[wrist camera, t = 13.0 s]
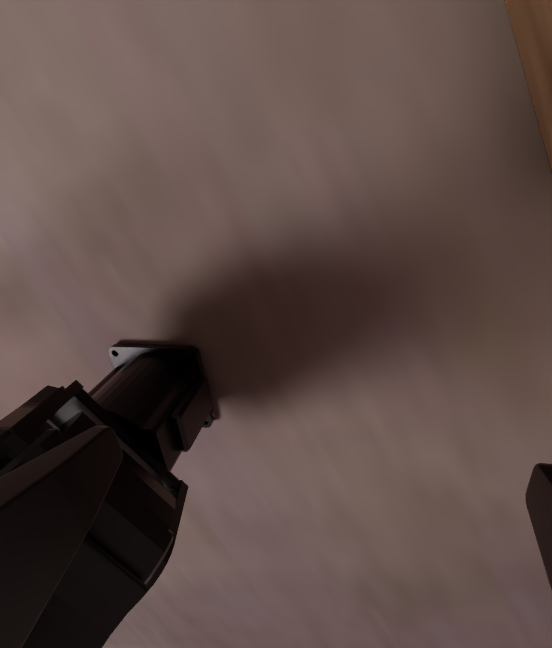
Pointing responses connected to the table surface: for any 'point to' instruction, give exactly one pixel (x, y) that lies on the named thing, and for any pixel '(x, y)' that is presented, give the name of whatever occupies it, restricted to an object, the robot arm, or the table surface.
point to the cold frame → (536, 57)
